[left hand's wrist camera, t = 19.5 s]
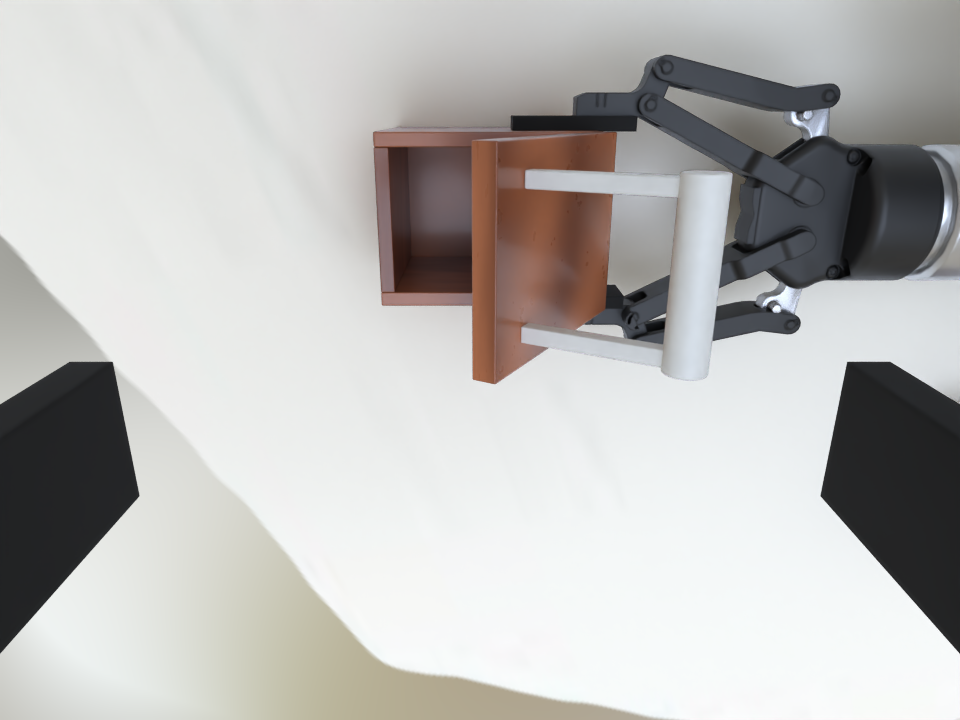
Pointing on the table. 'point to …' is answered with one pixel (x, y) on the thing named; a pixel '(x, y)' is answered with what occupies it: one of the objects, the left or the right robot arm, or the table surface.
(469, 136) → the chest
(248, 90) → the table surface
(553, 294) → the lid
